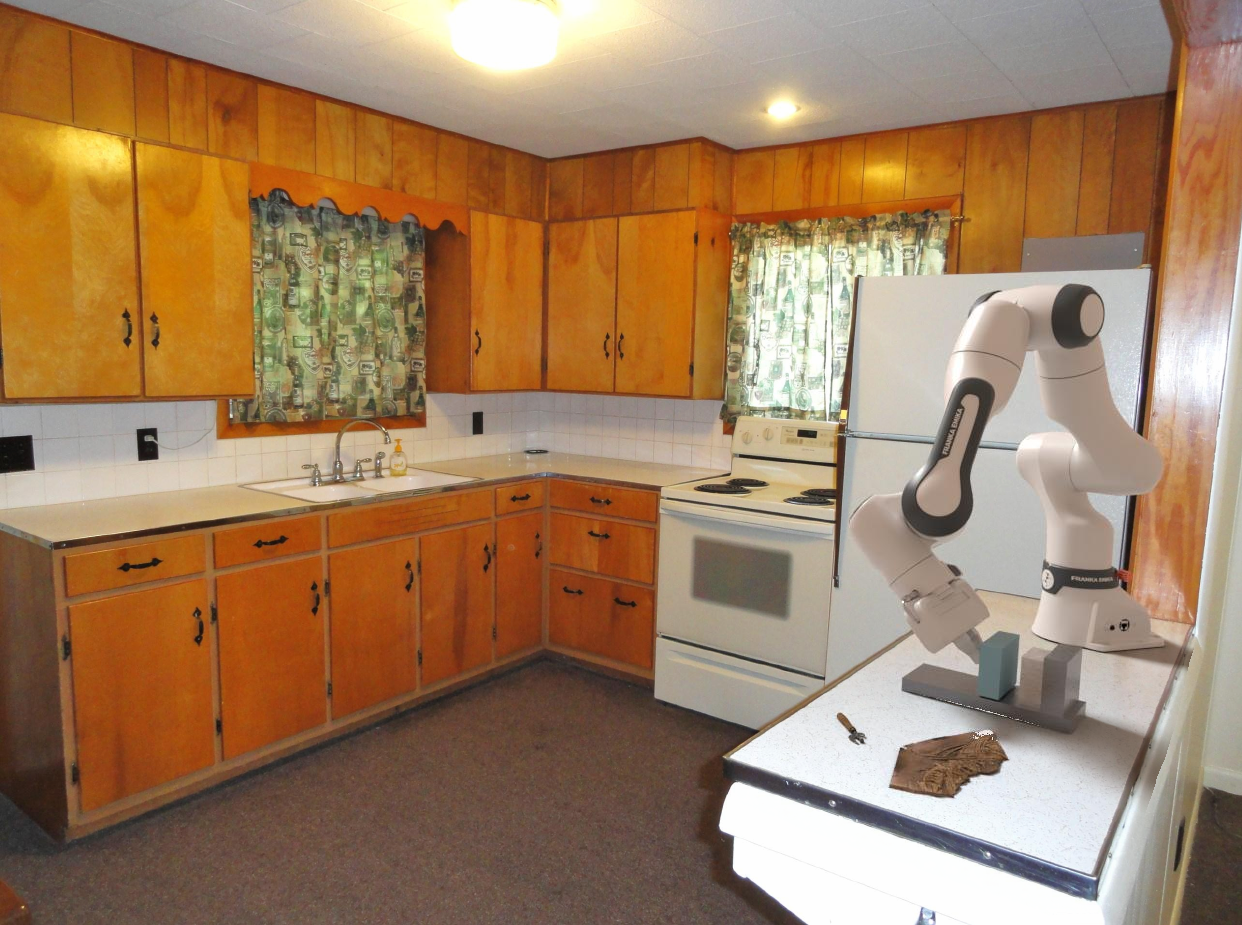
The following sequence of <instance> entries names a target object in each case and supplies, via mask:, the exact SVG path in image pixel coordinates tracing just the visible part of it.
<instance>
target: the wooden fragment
mask: <svg viewBox="0 0 1242 925" xmlns="http://www.w3.org/2000/svg"><path fill="white" fill-rule="evenodd" d="M978 733H979V732H978ZM987 734H988V733H987ZM973 735H974V736H973ZM982 735H984V734H982ZM975 736H976V737H979V738H978V739H975ZM973 737H974V738H973ZM992 737H993V740H992ZM996 737H997V735H996V734H995V733H994V734H991V735H990V734H989V735H984V736H982V737H981V735H980V736H979V734H978V735H977V733H975V732H973V731H968V732H964V733H958V734H953V735H944V736H939V737H934V738H933V737H932V738H928V739H925V740H921V741H917V742H914V743H913V742H912V743H908V744H904V745H903V746H902V747H899V750H898V754H897V757H896V761H895V764H894V767H893V770H892V771H893V772H892V775H891V779H890V782H889V786H888V788H889V789H895V790H898V791H899V790H900V791H903V792H906V793H908V794H909V793H910V794H915V795H927V796H933V797H944V798H945V797H947V798H954V797H955V796H954V795H955V794H956V792H957V790H959V789H960V788H961V784H965V783H967V782H968V781H970V780H971V779H970V777H974V776H976V775H977V774H980V775H986V774H988V773H989V774H990V773H995V772H996V771H999V766H1000V764H1001V762H1003V761H1006V760H1008V759H1009V757H1008V755H1006V753H1005V750H1004V749H1003V747H1002V746H1001V745H999V744H1000V743H999V741H998V740H997V739H995V738H996ZM996 740H997V741H996Z"/></svg>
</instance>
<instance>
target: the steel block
mask: <svg viewBox="0 0 1242 925" xmlns="http://www.w3.org/2000/svg"><path fill="white" fill-rule="evenodd" d="M1051 651H1052V650H1050V649H1045V648H1040V647H1034V646H1032V647H1031V648H1030V649H1029V650H1027V651H1026V652H1025V653H1024V654H1023V655H1022V656H1021V660H1020V671H1019V672H1020V676H1019V677H1020V678H1019V686H1020V687H1019V702H1018V703H1019V704H1023V705H1027V706H1031V707H1035V708H1038V709H1040V705H1041V691H1042V677H1043V663H1044V657H1045V656H1047V655H1048V654H1049V653H1050V652H1051Z"/></svg>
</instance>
